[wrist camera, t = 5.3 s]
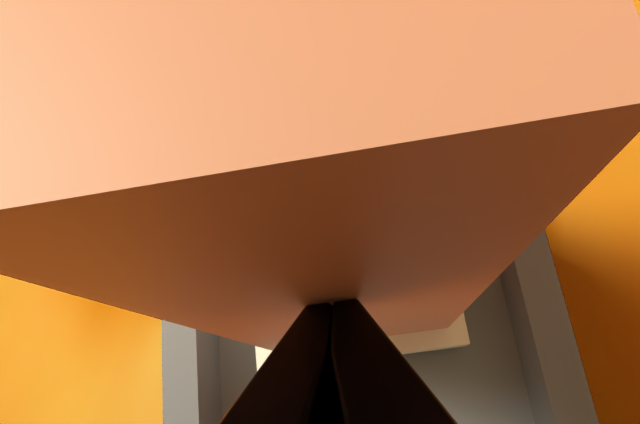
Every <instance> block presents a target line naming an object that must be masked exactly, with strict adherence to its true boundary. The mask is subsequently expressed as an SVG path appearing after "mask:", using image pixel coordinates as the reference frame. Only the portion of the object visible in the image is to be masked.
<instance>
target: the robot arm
mask: <svg viewBox="0 0 640 424" xmlns="http://www.w3.org/2000/svg"><path fill="white" fill-rule="evenodd" d="M219 424H458V423H457V422H456V421H455V419H454V418H453V417H452V416H451V414H450V413H449V412H448V411H447V409H446V408H445V407H444V406H443V404H442V403H441V402H440V401H439V400H438V398H437V397H436V396H435V395H434V393H433V392H432V391H431V390H430V388H429V387H428V386H427V385H426V383H425V382H424V381H423V380H422V378H421V377H420V376H419V375H418V373H417V372H416V371H415V370H414V368H413V367H412V366H411V365H410V363H409V362H408V361H407V360H406V358H405V357H404V356H403V355H402V353H401V352H400V351H399V350H398V348H397V347H396V346H395V345H394V344H393V342H392V341H391V340H390V339H389V337H388V336H387V335H386V334H385V332H384V331H383V330H382V329H381V327H380V326H379V325H378V324H377V322H376V321H375V320H374V319H373V317H372V316H371V315H370V314H369V312H368V311H367V310H366V309H365V307H364V306H363V305H362V304H361V302H360V301H359V300H358V299H349V300H341V301H335V302H334V303H333V304H332V305H331V304H330V303H320V304H313V305H307V306H306V307H304V309H303V310H302V311H301V313H300V314H299V315H298V317H297V318H296V319H295V321H294V322H293V324H292V325H291V326H290V328H289V329H288V330H287V332H286V333H285V334H284V336H283V337H282V338H281V340H280V341H279V342H278V344H277V345H276V347H275V348H274V349H273V351H272V352H271V353H270V355H269V356H268V357H267V359H266V360H265V361H264V363H263V364H262V366H261V367H260V368H259V370H258V371H257V372H256V374H255V375H254V376H253V378H252V379H251V380H250V382H249V383H248V385H247V386H246V387H245V389H244V390H243V391H242V393H241V394H240V395H239V397H238V398H237V399H236V401H235V402H234V404H233V405H232V406H231V408H230V409H229V410H228V412H227V413H226V414H225V416H224V417H223V418H222V420H221V421H220V423H219Z"/></svg>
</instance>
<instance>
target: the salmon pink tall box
mask: <svg viewBox="0 0 640 424" xmlns="http://www.w3.org/2000/svg"><path fill="white" fill-rule="evenodd" d="M639 132H640V17H639V15H638V12H637V10H636V7H635V5H634V2H633V0H0V274H1V275H5V276H8V277H12V278H16V279H19V280H23V281H26V282H30V283H33V284H37V285H40V286H44V287H47V288H51V289H55V290H58V291H62V292H65V293H69V294H72V295H76V296H79V297H83V298H87V299H90V300H94V301H97V302H101V303H104V304H108V305H111V306H115V307H118V308H122V309H126V310H129V311H133V312H136V313H140V314H143V315H147V316H150V317H154V318H158V319H161V320H165V321H168V322H172V323H175V324H179V325H182V326H186V327H189V328H193V329H197V330H200V331H204V332H207V333H211V334H214V335H218V336H221V337H225V338H229V339H232V340H236V341H239V342H243V343H246V344H250V345H253V346H255V349H256V363H257V371H258V370H259V368H260V367H261V366H262V364H263V363H264V361H265V360H266V359H267V357H268V356H269V355H270V353H271V352H272V351H273V349H274V348H275V347H276V345H277V344H278V342H279V341H280V340H281V338H282V337H283V336H284V334H285V333H286V332H287V330H288V329H289V328H290V326H291V325H292V324H293V322H294V321H295V319H296V318H297V317H298V315H299V314H300V313H301V311H302V310H303V309H304V307H306V306H307V305H313V304H320V303H330V304H331V305H332V304H333V303H334V302H335V301H341V300H349V299H358V300H359V301H360V302H361V304H362V305H363V306H364V307H365V309H366V310H367V311H368V312H369V314H370V315H371V316H372V317H373V319H374V320H375V321H376V322H377V324H378V325H379V326H380V327H381V329H382V330H383V331H384V332H385V334H386V335H387V336H388V337H389V339H390V340H391V341H392V342H393V344H394V345H395V346H396V347H397V348H398V350H399V351H400V352H401V353H402V354H410V353H417V352H425V351H433V350H441V349H448V348H456V347H464V346H467V345H469V344H470V340H469V336H468V331H467V326H466V321H465V317H464V311H465V310H466V309H467V308H468V307H469V306H470V305H471V304H472V303H473V302H474V301H475V300H476V299H477V298H478V297H479V296H480V295H481V294H482V293H483V291H484V290H485V289H486V288H487V287H488V286H489V285H490V284H491V283H492V282H493V281H494V280H495V279H496V278H497V277H498V276H499V275H500V274H501V273H502V272H503V271H504V270H505V269H506V268H507V267H508V266H509V265H510V264H511V263H512V262H513V261H514V260H515V259H516V258H517V257H518V256H519V255H520V254H521V253H522V252H523V250H524V249H525V248H526V247H527V246H528V245H529V244H530V243H531V242H532V241H533V240H534V239H535V238H536V237H537V236H538V235H539V234H540V233H541V232H542V231H543V230H544V229H545V228H546V227H547V226H548V225H549V224H550V223H551V222H552V221H553V220H554V219H555V218H556V217H557V216H558V215H559V214H560V213H561V212H562V211H563V209H564V208H565V207H566V206H567V205H568V204H569V203H570V202H571V201H572V200H573V199H574V198H575V197H576V196H577V195H578V194H579V193H580V192H581V191H582V190H583V189H584V188H585V187H586V186H587V185H588V184H589V183H590V182H591V181H592V180H593V179H594V178H595V177H596V176H597V175H598V174H599V173H600V172H601V171H602V170H603V168H604V167H605V166H606V165H607V164H608V163H609V162H610V161H611V160H612V159H613V158H614V157H615V156H616V155H617V154H618V153H619V152H620V151H621V150H622V149H623V148H624V147H625V146H626V145H627V144H628V143H629V142H630V141H631V140H632V139H633V138H634V137H635V136H636V135H637V134H638V133H639Z"/></svg>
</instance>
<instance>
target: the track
mask: <svg viewBox="0 0 640 424" xmlns="http://www.w3.org/2000/svg"><path fill="white" fill-rule="evenodd" d="M464 317H465V321H466V326H467V331H468V336H469V340H470V344H469V345H467V346H464V347H456V348H448V349H441V350H433V351H425V352H417V353H410V354H402V355H403V356H404V357H405V358H406V360H407V361H408V362H409V363H410V365H411V366H412V367H413V368H414V370H415V371H416V372H417V373H418V375H419V376H420V377H421V378H422V380H423V381H424V382H425V383H426V385H427V386H428V387H429V388H430V390H431V391H432V392H433V393H434V395H435V396H436V397H437V398H438V400H439V401H440V402H441V403H442V404H443V406H444V407H445V408H446V409H447V411H448V412H449V413H450V414H451V416H452V417H453V418H454V419H455V421H456V422H457V423H458V424H599V421H598V417H597V414H596V410H595V407H594V403H593V400H592V396H591V392H590V389H589V385H588V382H587V378H586V375H585V371H584V367H583V364H582V360H581V357H580V353H579V350H578V346H577V342H576V339H575V335H574V332H573V328H572V325H571V321H570V318H569V314H568V310H567V307H566V303H565V300H564V296H563V293H562V289H561V285H560V282H559V278H558V275H557V271H556V268H555V264H554V260H553V257H552V253H551V250H550V246H549V243H548V239H547V236H546V232H545V229H544V230H543V231H542V232H541V233H540V234H539V235H538V236H537V237H536V238H535V239H534V240H533V241H532V242H531V243H530V244H529V245H528V246H527V247H526V248H525V249H524V250H523V252H522V253H521V254H520V255H519V256H518V257H517V258H516V259H515V260H514V261H513V262H512V263H511V264H510V265H509V266H508V267H507V268H506V269H505V270H504V271H503V272H502V273H501V274H500V275H499V276H498V277H497V278H496V279H495V280H494V281H493V282H492V283H491V284H490V285H489V286H488V287H487V288H486V289H485V290H484V291H483V293H482V294H481V295H480V296H479V297H478V298H477V299H476V300H475V301H474V302H473V303H472V304H471V305H470V306H469V307H468V308H467V309H466V310H465V311H464ZM256 372H257V363H256V349H255V346H253V345H250V344H246V343H243V342H239V341H236V340H232V339H229V338H225V337H221V336H218V335H214V334H211V333H207V332H204V331H200V330H197V329H193V328H189V327H186V326H182V325H179V324H175V323H172V322H168V321H165V320H162V378H163V424H219V423H220V421H221V420H222V418H223V417H224V416H225V414H226V413H227V412H228V410H229V409H230V408H231V406H232V405H233V404H234V402H235V401H236V399H237V398H238V397H239V395H240V394H241V393H242V391H243V390H244V389H245V387H246V386H247V385H248V383H249V382H250V380H251V379H252V378H253V376H254V375H255V374H256Z"/></svg>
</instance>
